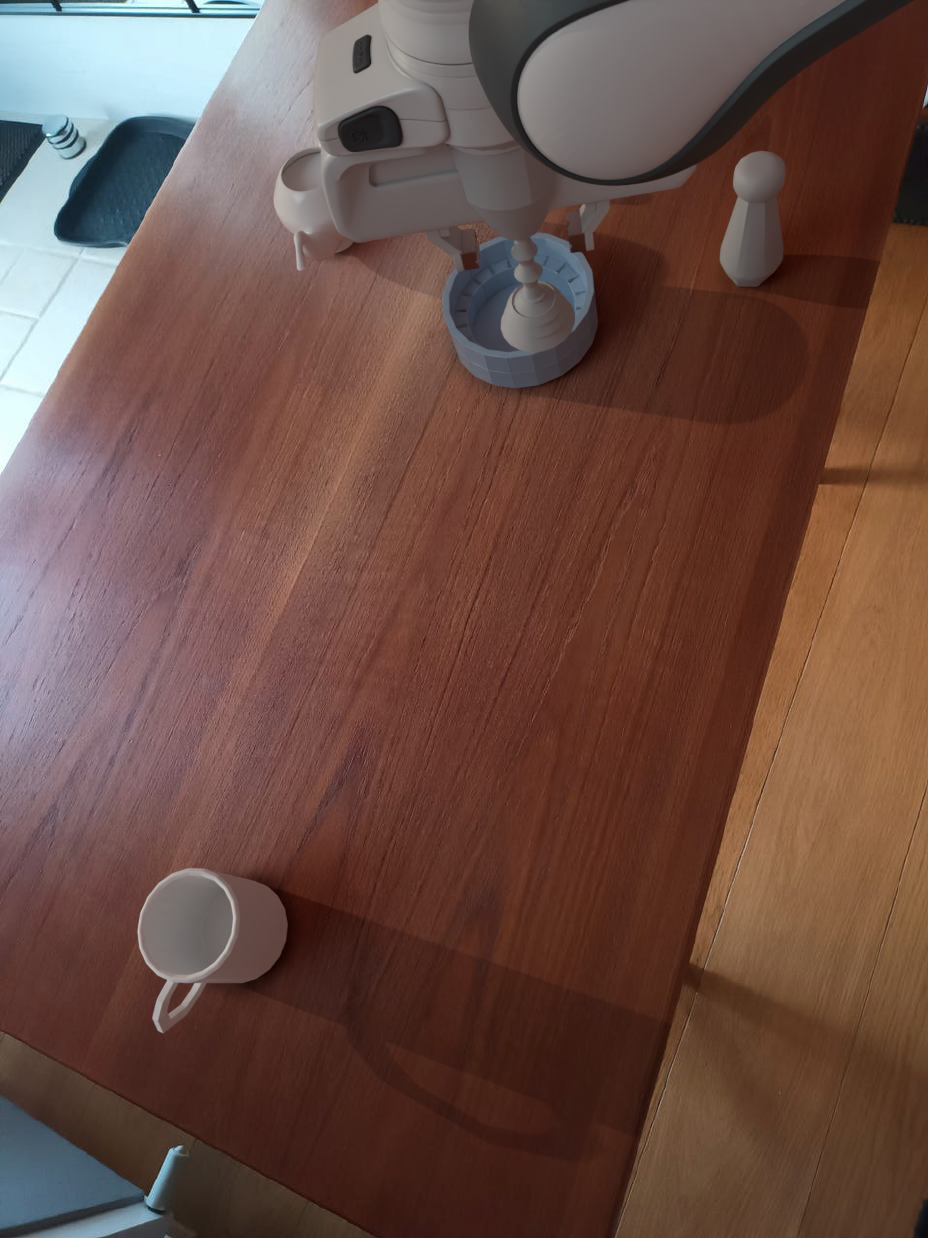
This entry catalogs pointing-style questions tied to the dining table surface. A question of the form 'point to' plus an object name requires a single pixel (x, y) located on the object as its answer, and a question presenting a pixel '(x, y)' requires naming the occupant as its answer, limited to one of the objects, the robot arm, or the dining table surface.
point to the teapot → (307, 208)
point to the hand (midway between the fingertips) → (524, 252)
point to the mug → (208, 934)
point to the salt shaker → (754, 221)
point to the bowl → (483, 299)
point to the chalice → (519, 239)
